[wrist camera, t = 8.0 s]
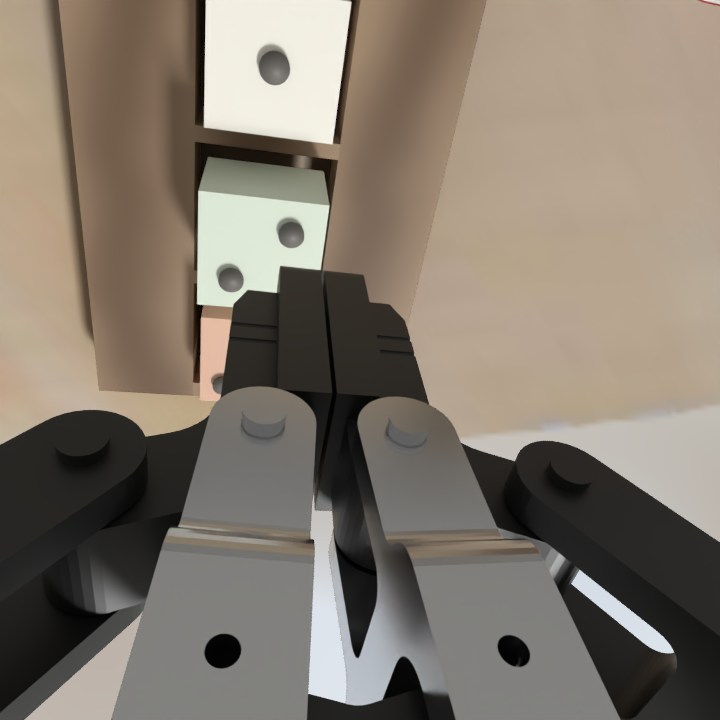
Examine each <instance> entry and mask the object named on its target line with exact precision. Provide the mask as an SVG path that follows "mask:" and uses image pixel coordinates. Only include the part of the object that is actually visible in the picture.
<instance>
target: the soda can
mask: <svg viewBox="0 0 720 720" xmlns="http://www.w3.org/2000/svg"><path fill="white" fill-rule="evenodd" d="M698 1H700V2H704V3H708V4H713V5H718V6H720V0H698Z"/></svg>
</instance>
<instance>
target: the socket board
mask: <svg viewBox="0 0 720 720" xmlns="http://www.w3.org/2000/svg"><path fill="white" fill-rule="evenodd" d="M58 2H59V12H60V22H61V31H62V41H63V50H64V60H65V69H66V79H67V88H68V98H69V107H70V117H71V127H72V136H73V146H74V155H75V165H76V174H77V184H78V193H79V203H80V213H81V222H82V232H83V241H84V251H85V260H86V270H87V279H88V289H89V299H90V308H91V318H92V327H93V337H94V346H95V356H96V365H97V375H98V385H99V390H101V391H119V392H137V393H154V394H172V395H190V396H200V356H198V308H199V304H197V270H198V190H199V187H200V144H201V143H209V144H216V145H224V146H232V147H240V148H248V149H255V150H263V151H271V152H279V153H287V154H294V155H302V156H310V157H318V158H326V159H332V162H331V169H330V177H329V184H328V192H327V194H328V200H329V205H330V206H329V213H328V220H327V228H326V235H325V242H324V249H323V256H322V264H321V275H322V272H323V270H326V271H335V272H344V273H353V274H362V275H364V278H365V283H366V287H367V292H368V297H369V301H370V302H373V303H383V304H390V305H391V306H392V307H393V309H394V310H395V311H396V312H397V313H398V314H399V315H400V316H401V317H402V318H403V319H404V320H405V323H406V326H407V325H408V321H409V317H410V313H411V309H412V305H413V301H414V297H415V292H416V288H417V284H418V280H419V276H420V272H421V268H422V264H423V259H424V255H425V251H426V247H427V243H428V239H429V235H430V231H431V226H432V222H433V218H434V214H435V210H436V206H437V202H438V198H439V194H440V189H441V185H442V181H443V177H444V173H445V169H446V165H447V161H448V156H449V152H450V148H451V144H452V140H453V136H454V132H455V128H456V123H457V119H458V115H459V111H460V107H461V103H462V99H463V95H464V91H465V86H466V82H467V78H468V74H469V70H470V66H471V62H472V58H473V53H474V49H475V45H476V41H477V37H478V33H479V29H480V25H481V21H482V16H483V12H484V8H485V4H486V0H353V6H352V13H351V21H350V28H349V36H348V43H347V51H346V58H345V65H344V73H343V80H342V88H341V95H340V103H339V110H338V117H337V125H336V128H335V129H334V137H333V144H325V143H317V142H310V141H302V140H294V139H287V138H279V137H272V136H264V135H257V134H249V133H242V132H234V131H227V130H219V129H211V128H204V110H201V62H202V0H58Z"/></svg>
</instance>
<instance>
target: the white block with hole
mask: <svg viewBox="0 0 720 720" xmlns="http://www.w3.org/2000/svg"><path fill="white" fill-rule="evenodd" d="M350 10H351V1H350V0H206V24H205V91H204V128H211V129H219V130H227V131H234V132H242V133H249V134H257V135H264V136H272V137H279V138H287V139H294V140H302V141H310V142H317V143H325V144H333V137H334V129H335V122H336V114H337V107H338V99H339V92H340V84H341V77H342V69H343V62H344V55H345V47H346V40H347V32H348V25H349V17H350Z"/></svg>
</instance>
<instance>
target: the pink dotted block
mask: <svg viewBox="0 0 720 720" xmlns="http://www.w3.org/2000/svg"><path fill="white" fill-rule="evenodd" d="M232 312H233V307H223V306H211V305H203V310H202V315H201V355H200V400H204V401H218V400H219V399H220V397H221V391H222V383H223V376H224V369H225V362H226V355H227V348H228V340H229V333H230V326H231V319H232Z"/></svg>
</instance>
